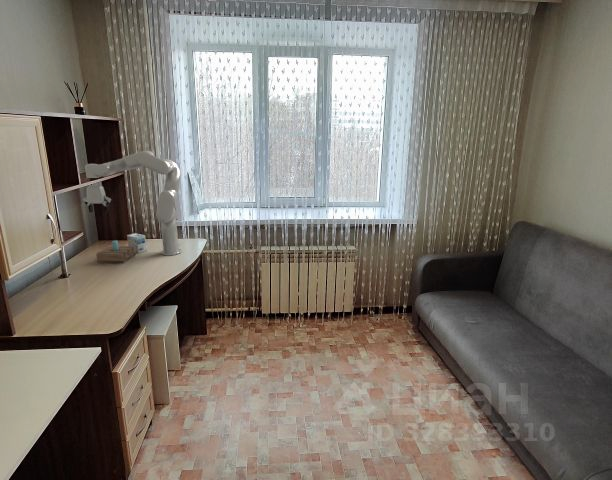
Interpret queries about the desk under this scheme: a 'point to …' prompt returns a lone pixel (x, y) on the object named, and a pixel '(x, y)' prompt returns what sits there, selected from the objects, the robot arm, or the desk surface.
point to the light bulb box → (137, 242)
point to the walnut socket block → (116, 254)
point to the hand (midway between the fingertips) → (98, 212)
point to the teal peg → (115, 245)
